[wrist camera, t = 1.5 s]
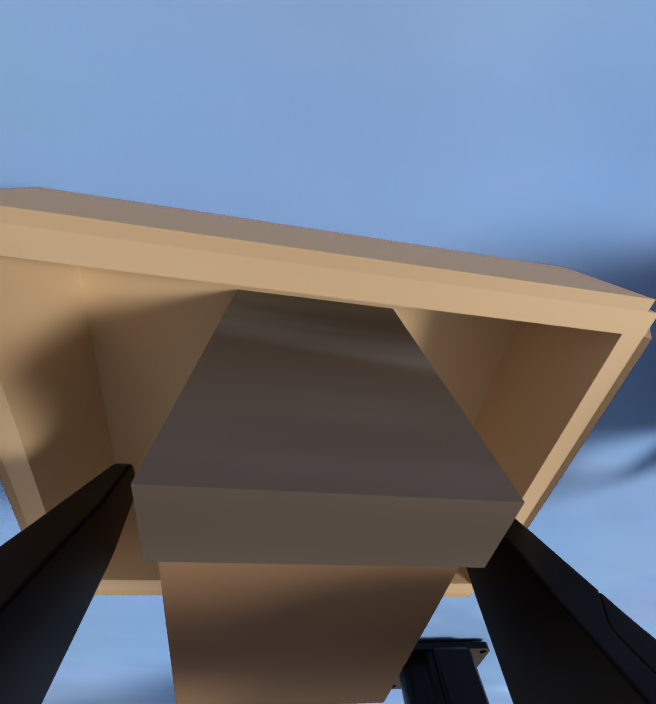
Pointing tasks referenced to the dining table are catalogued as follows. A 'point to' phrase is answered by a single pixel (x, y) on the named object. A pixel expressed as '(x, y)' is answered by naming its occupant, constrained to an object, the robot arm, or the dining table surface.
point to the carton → (285, 279)
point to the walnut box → (311, 504)
